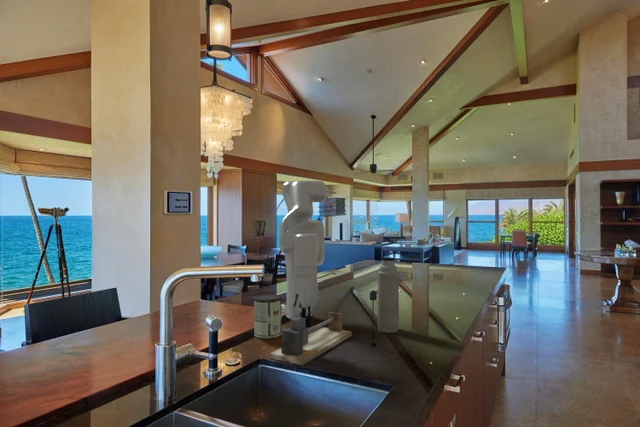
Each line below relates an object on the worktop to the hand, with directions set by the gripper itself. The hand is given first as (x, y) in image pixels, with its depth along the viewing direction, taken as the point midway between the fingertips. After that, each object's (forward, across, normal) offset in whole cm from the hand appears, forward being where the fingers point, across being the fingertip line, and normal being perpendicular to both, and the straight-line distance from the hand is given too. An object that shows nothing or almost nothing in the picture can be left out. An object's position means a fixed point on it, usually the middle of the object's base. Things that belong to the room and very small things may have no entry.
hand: (305, 327), depth 131 cm
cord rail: (+8, -6, 0) cm, 9 cm away
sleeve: (+4, +4, 0) cm, 6 cm away
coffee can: (+8, -9, -22) cm, 25 cm away
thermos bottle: (+8, -36, +15) cm, 40 cm away
